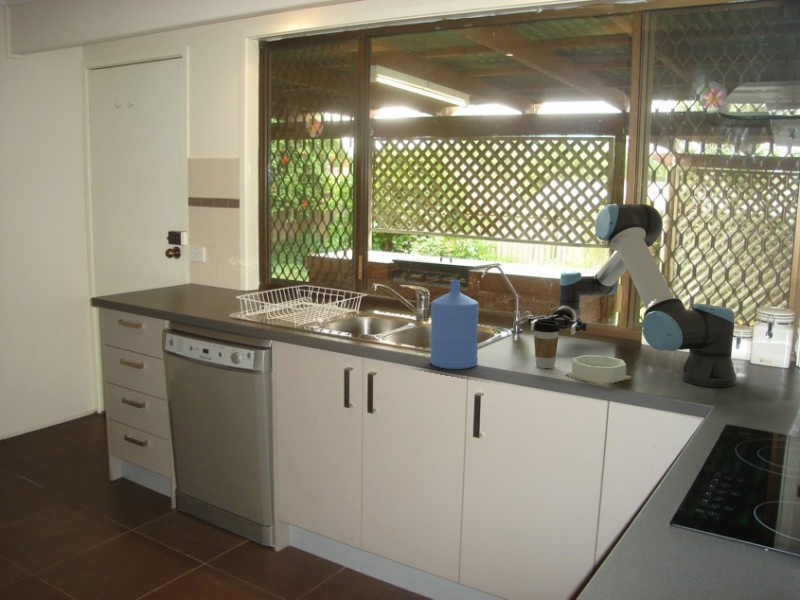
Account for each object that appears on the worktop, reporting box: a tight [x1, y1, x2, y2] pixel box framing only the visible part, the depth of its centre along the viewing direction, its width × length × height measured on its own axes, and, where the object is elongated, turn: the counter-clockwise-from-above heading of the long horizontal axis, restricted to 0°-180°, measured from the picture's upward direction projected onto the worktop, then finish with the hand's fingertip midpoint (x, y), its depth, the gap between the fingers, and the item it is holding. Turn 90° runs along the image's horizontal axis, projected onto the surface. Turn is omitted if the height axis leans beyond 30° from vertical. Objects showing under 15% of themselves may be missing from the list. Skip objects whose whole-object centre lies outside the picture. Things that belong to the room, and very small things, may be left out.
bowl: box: [565, 354, 632, 387], centre depth 210 cm, size 15×15×5 cm
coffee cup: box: [533, 321, 561, 369], centre depth 221 cm, size 8×8×15 cm
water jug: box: [429, 279, 480, 370], centre depth 223 cm, size 16×16×28 cm
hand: (551, 328), depth 230 cm, fingers open, 13 cm apart
